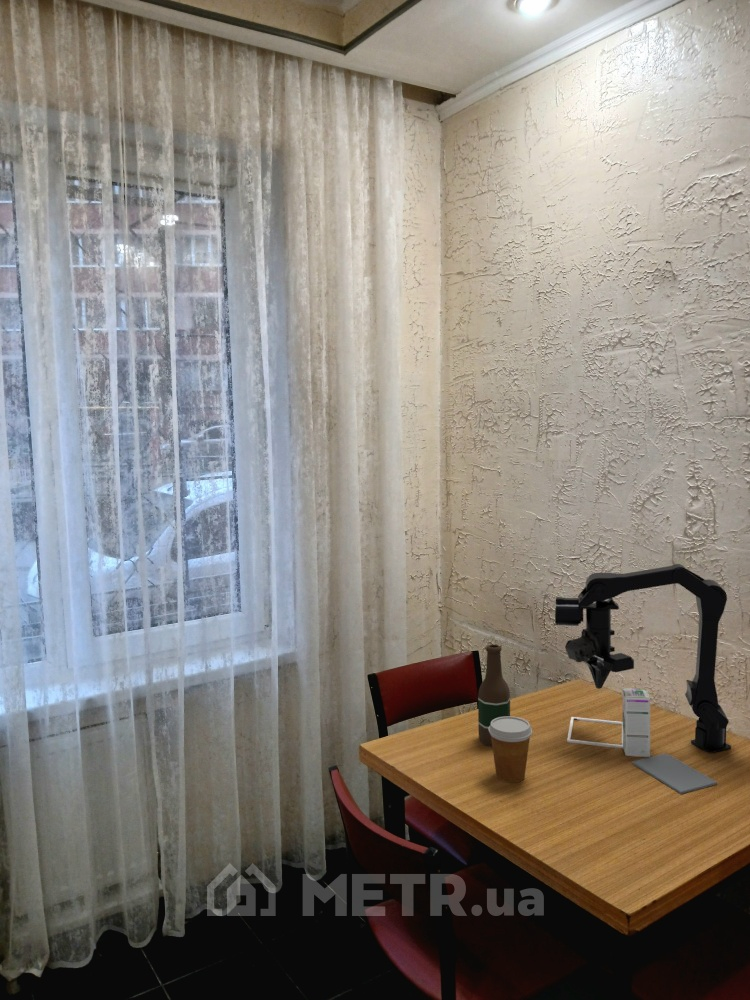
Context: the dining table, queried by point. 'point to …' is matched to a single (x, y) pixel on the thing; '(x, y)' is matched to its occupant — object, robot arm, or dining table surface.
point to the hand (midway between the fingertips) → (598, 688)
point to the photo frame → (594, 742)
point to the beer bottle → (492, 694)
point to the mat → (674, 773)
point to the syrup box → (636, 722)
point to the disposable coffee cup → (510, 747)
